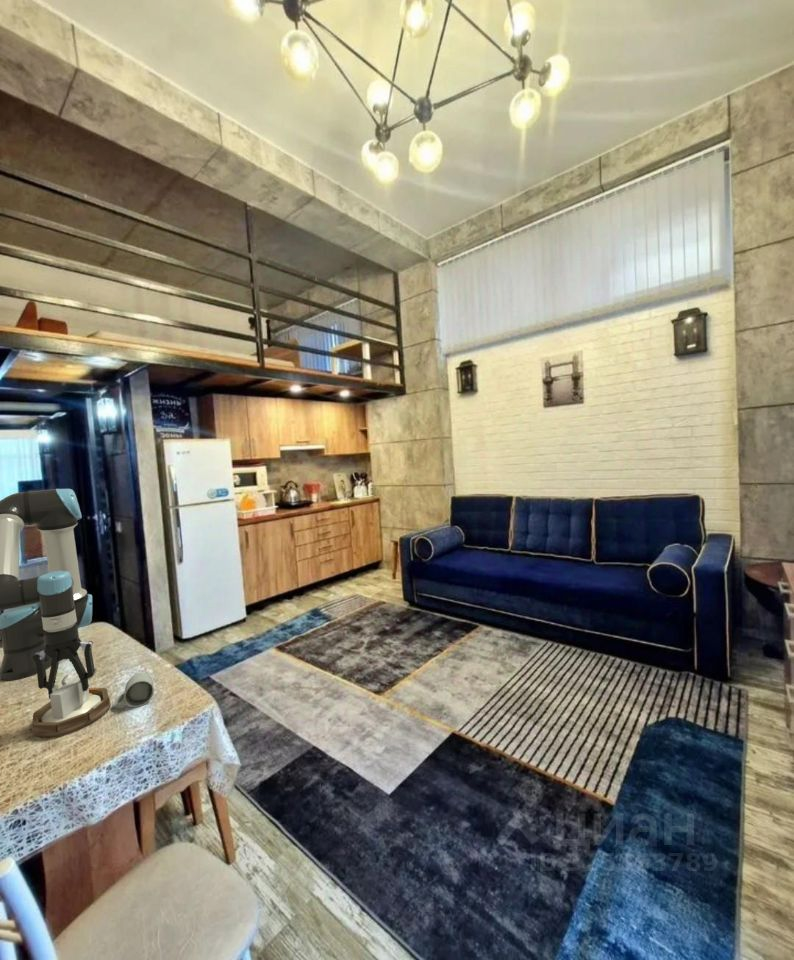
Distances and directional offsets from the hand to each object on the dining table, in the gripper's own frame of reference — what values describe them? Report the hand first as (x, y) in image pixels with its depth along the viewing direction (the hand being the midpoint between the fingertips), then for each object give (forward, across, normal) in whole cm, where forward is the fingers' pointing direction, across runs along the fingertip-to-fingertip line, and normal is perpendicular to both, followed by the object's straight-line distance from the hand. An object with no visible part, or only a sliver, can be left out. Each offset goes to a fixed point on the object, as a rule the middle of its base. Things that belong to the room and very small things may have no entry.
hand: (70, 704), depth 122 cm
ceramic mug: (+4, +16, 0) cm, 16 cm away
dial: (+2, 0, 0) cm, 2 cm away
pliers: (+4, -4, +22) cm, 23 cm away
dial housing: (+4, 0, 0) cm, 4 cm away
